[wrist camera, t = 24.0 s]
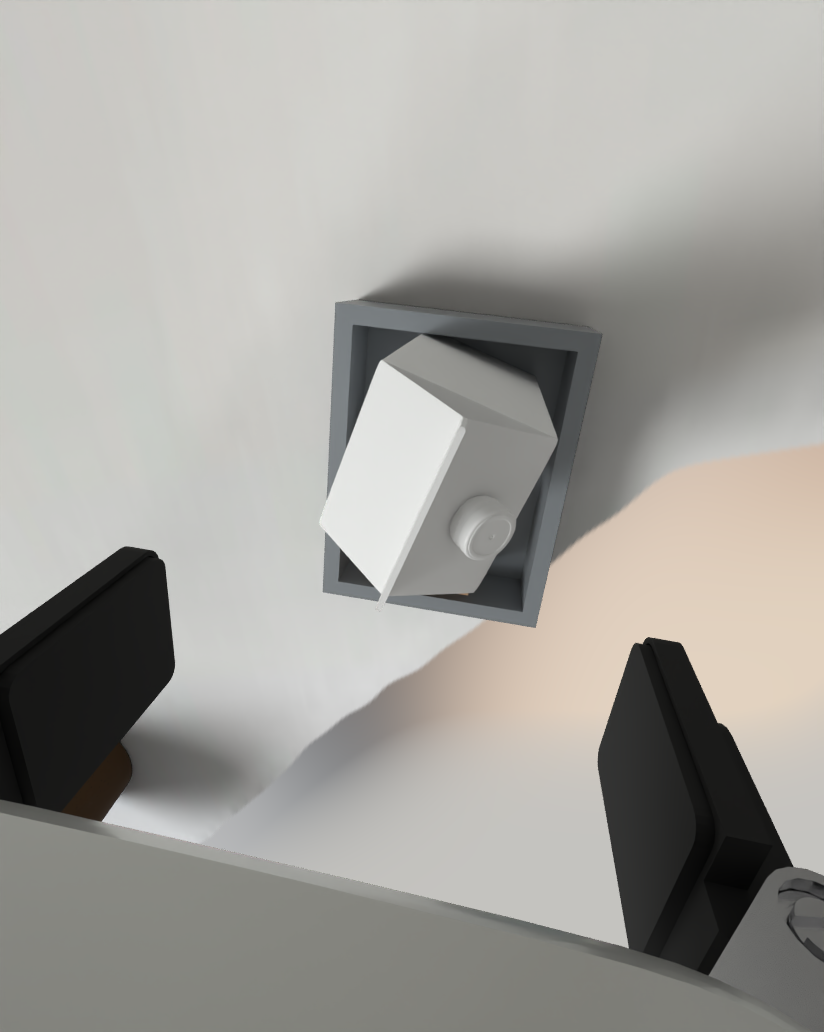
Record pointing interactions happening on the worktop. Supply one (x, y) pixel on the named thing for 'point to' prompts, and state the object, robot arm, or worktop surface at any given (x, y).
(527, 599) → the tote
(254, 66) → the worktop surface
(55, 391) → the worktop surface
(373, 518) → the milk carton
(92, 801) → the olive oil
